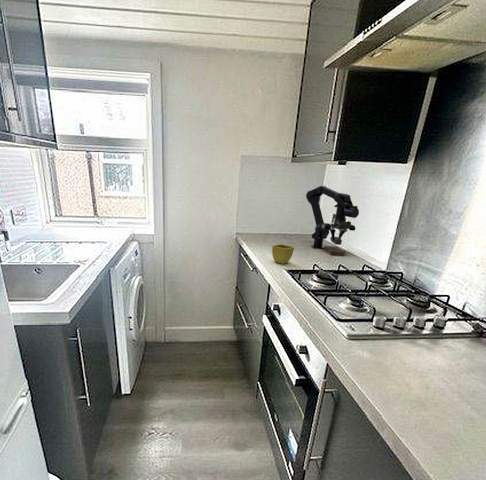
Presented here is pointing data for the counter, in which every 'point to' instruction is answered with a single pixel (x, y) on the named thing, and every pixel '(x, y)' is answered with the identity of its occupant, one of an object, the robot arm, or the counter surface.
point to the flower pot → (282, 253)
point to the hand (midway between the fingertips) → (335, 240)
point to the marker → (336, 240)
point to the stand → (334, 250)
